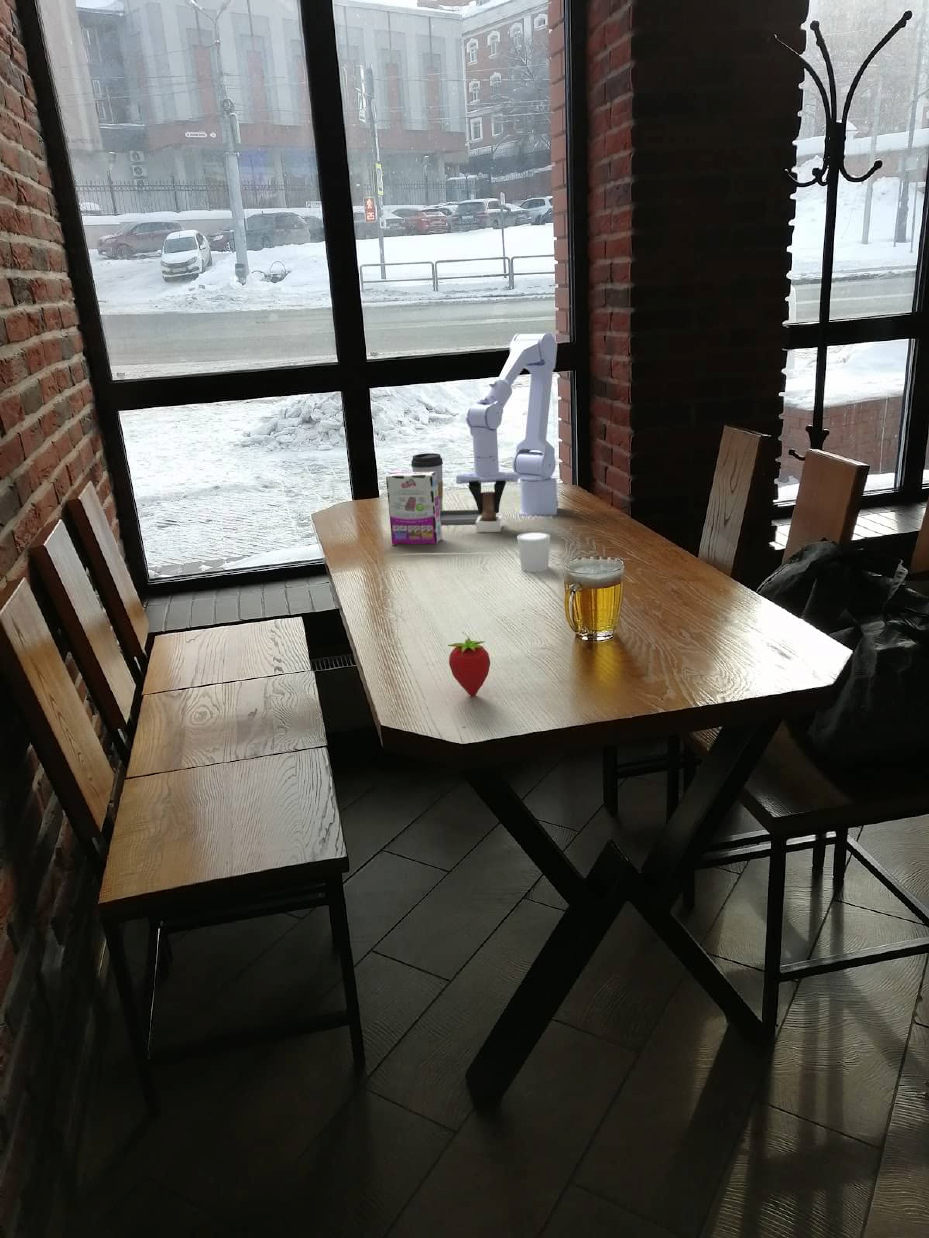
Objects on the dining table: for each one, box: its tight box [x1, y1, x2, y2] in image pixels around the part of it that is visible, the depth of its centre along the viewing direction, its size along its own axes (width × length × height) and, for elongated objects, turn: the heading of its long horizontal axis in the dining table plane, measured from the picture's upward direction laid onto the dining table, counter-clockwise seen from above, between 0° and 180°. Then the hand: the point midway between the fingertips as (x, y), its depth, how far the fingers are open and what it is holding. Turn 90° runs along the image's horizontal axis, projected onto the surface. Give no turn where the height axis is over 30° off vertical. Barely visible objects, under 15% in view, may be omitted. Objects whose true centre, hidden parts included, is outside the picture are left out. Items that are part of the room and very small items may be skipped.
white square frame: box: [475, 515, 504, 533], centre depth 224 cm, size 6×6×3 cm
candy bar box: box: [385, 471, 443, 546], centre depth 215 cm, size 11×5×16 cm, turn 76°
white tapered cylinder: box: [516, 531, 551, 573], centre depth 192 cm, size 7×7×7 cm
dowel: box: [481, 491, 497, 521], centre depth 223 cm, size 3×3×8 cm
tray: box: [440, 509, 482, 526], centre depth 235 cm, size 14×10×2 cm
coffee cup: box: [410, 452, 444, 511], centre depth 244 cm, size 8×8×15 cm
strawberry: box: [447, 631, 491, 697], centre depth 134 cm, size 6×8×10 cm
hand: (488, 512), depth 223 cm, fingers closed on dowel, 3 cm apart
